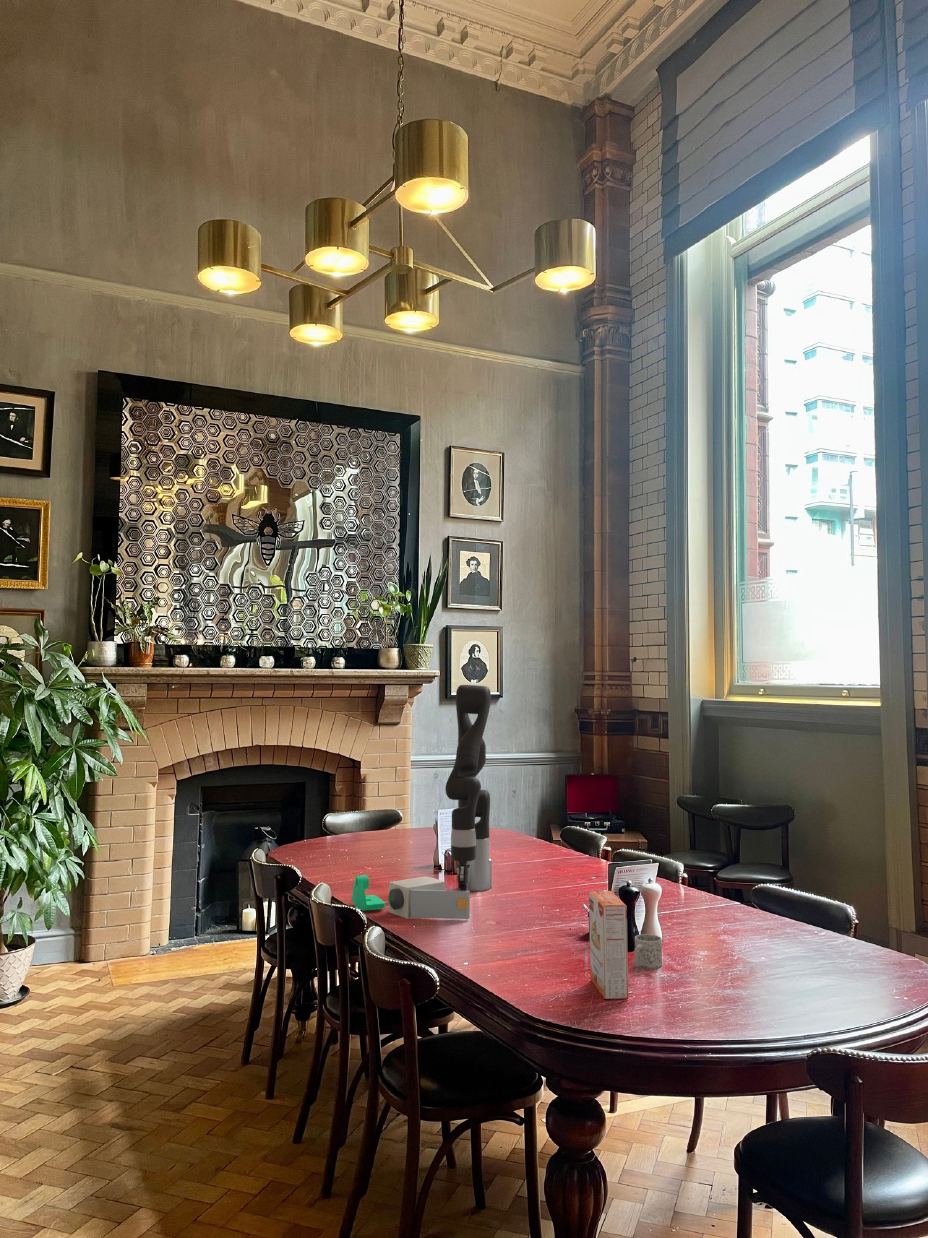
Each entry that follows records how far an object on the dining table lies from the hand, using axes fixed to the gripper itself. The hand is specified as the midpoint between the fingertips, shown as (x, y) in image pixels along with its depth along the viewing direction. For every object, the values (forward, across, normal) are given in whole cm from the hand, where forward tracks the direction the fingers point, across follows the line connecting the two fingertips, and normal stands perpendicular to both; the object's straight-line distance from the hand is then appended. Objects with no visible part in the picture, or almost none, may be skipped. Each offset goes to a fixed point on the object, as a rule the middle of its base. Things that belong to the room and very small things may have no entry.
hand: (463, 901), depth 276 cm
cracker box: (+3, -62, -38) cm, 73 cm away
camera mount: (+5, +9, +30) cm, 32 cm away
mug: (+4, -43, -49) cm, 65 cm away
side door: (+4, -4, +7) cm, 9 cm away
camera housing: (+5, +5, +15) cm, 16 cm away
